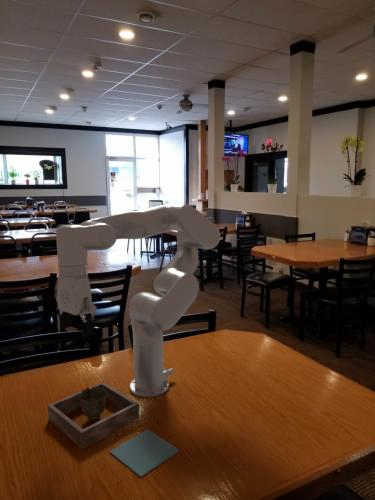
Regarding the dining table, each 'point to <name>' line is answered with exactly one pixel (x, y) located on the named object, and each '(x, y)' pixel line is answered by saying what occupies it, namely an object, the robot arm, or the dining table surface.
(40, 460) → the dining table surface
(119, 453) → the light blue square plate
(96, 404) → the dark rounded piece
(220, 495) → the dining table surface
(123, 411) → the grey square frame
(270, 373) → the dining table surface
